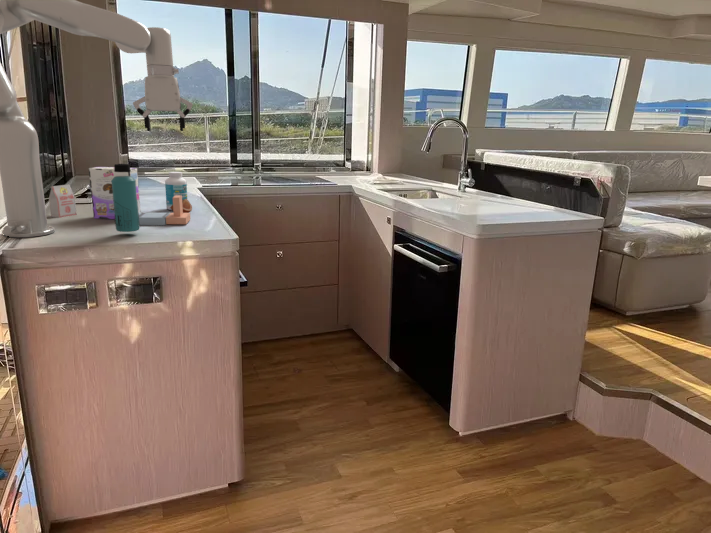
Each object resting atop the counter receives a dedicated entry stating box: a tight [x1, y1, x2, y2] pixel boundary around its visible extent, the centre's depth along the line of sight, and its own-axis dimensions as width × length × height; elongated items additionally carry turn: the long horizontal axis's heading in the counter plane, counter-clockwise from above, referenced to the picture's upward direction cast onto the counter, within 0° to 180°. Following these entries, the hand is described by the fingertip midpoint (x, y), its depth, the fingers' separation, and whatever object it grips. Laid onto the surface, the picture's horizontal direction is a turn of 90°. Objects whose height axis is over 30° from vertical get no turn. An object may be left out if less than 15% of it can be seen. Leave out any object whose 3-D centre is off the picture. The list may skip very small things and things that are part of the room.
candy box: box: [88, 166, 142, 220], centre depth 175 cm, size 14×6×16 cm, turn 84°
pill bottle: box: [164, 171, 188, 211], centre depth 195 cm, size 8×7×14 cm
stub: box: [166, 195, 191, 225], centre depth 171 cm, size 9×6×8 cm, turn 8°
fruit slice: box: [170, 198, 193, 213], centre depth 187 cm, size 8×7×5 cm
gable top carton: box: [48, 184, 78, 219], centre depth 177 cm, size 4×7×10 cm, turn 158°
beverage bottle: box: [111, 163, 141, 233], centre depth 150 cm, size 6×7×20 cm
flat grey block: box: [139, 212, 171, 226], centre depth 171 cm, size 9×11×2 cm
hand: (165, 130), depth 166 cm, fingers open, 9 cm apart
